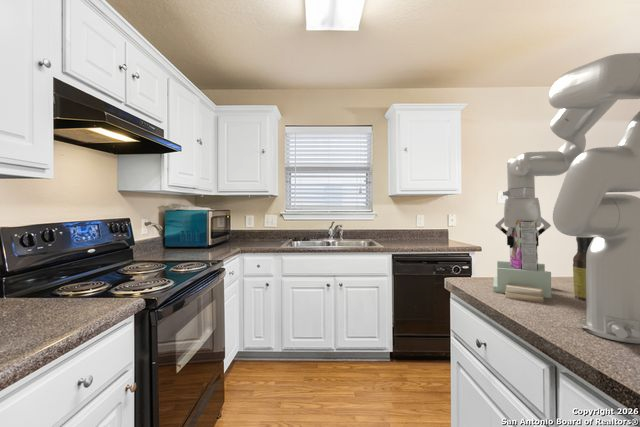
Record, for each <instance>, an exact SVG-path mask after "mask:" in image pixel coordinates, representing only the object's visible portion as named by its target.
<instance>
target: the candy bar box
mask: <svg viewBox="0 0 640 427" xmlns="http://www.w3.org/2000/svg"><path fill="white" fill-rule="evenodd" d="M537 230H538V228H537V229H536V221H516V228H513V230H512V232H511V236H512V248H510V247H509V262H510V266H512V267H514V268H516V269H521V270H534V271H538V262H539V261H538V260H539V258H538V255H539V254H538V246H537Z"/></svg>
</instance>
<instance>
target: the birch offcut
mask: <svg viewBox="0 0 640 427" xmlns="http://www.w3.org/2000/svg"><path fill="white" fill-rule="evenodd" d="M504 295H505V296H504V298H507V299H514V300H522V301H529V302H536V303H544V297H543V295H542V297H536V296H529V295H523V294H516V293H510V292H505V293H504Z"/></svg>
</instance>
